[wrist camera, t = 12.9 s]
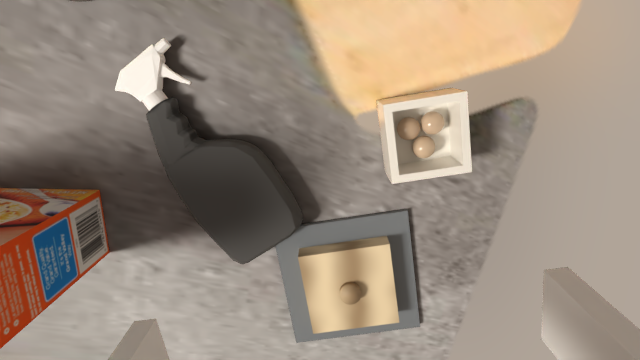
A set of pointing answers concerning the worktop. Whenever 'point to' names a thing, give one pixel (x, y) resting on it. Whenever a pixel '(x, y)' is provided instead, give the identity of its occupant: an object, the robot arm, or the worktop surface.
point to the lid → (349, 284)
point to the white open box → (425, 135)
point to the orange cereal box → (45, 249)
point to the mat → (343, 231)
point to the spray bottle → (213, 168)
